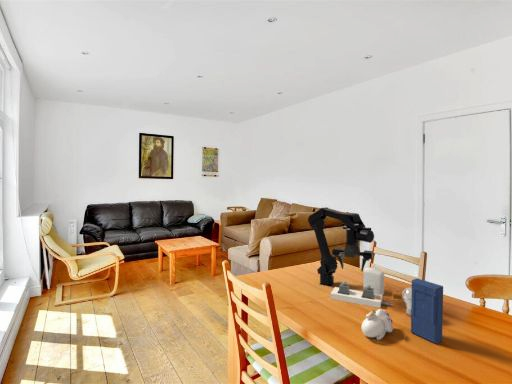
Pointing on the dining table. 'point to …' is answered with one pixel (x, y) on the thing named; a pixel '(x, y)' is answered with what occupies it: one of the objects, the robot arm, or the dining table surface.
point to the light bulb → (407, 298)
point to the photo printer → (374, 280)
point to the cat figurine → (377, 324)
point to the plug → (368, 292)
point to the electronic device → (427, 310)
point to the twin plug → (344, 288)
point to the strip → (358, 298)
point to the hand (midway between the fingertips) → (352, 270)
